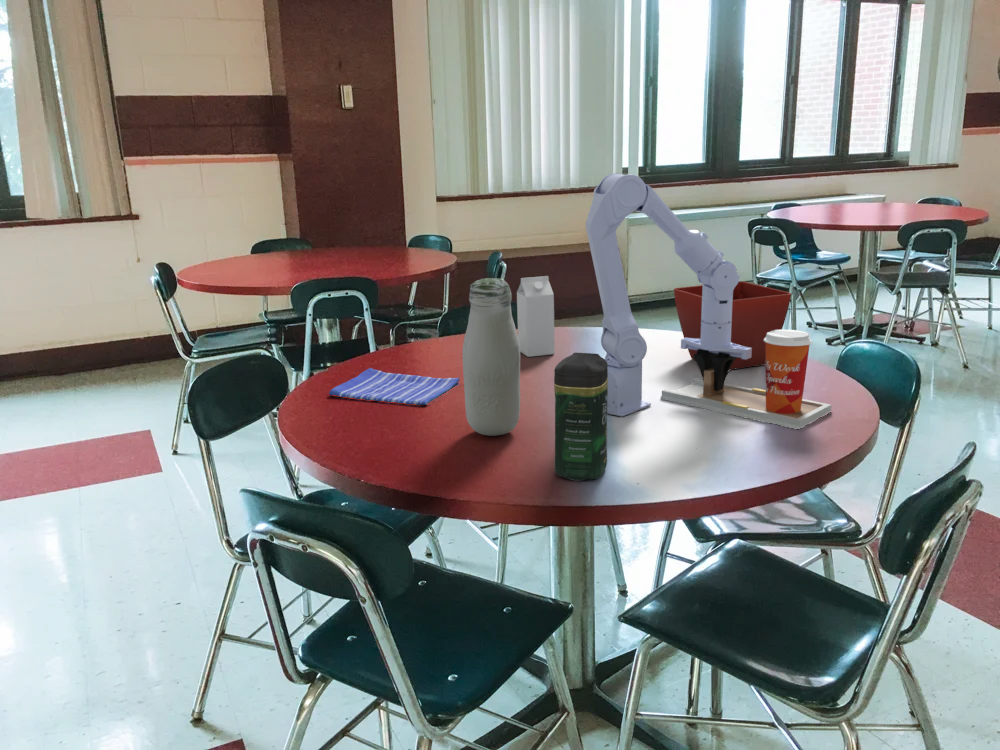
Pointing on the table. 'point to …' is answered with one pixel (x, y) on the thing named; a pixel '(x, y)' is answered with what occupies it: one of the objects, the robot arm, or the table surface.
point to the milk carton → (535, 316)
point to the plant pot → (738, 317)
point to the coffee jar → (581, 416)
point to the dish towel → (394, 387)
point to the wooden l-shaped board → (742, 397)
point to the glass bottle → (491, 360)
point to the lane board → (692, 391)
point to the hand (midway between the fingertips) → (713, 388)
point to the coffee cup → (786, 369)
